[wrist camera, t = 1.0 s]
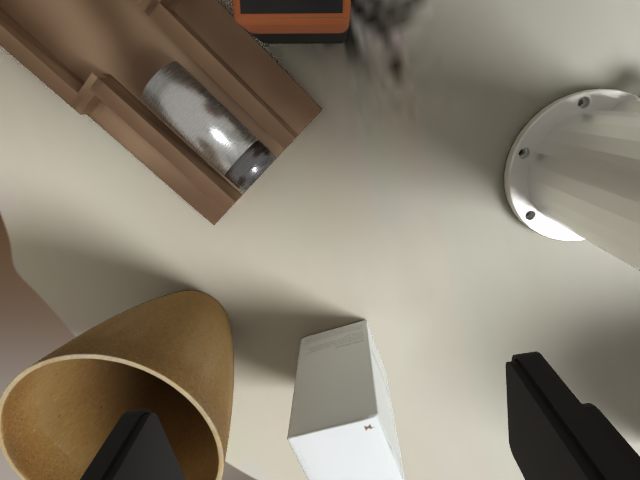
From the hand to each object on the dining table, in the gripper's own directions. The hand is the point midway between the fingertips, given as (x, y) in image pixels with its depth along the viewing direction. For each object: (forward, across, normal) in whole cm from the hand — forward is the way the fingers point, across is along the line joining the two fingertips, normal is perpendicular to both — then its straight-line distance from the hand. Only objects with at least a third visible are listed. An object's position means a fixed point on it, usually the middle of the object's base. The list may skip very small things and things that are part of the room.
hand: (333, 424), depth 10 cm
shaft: (+25, +8, -7) cm, 27 cm away
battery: (+26, -1, -14) cm, 30 cm away
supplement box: (+26, +2, +18) cm, 32 cm away
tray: (+26, +12, -14) cm, 32 cm away
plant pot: (+27, +16, +10) cm, 33 cm away
